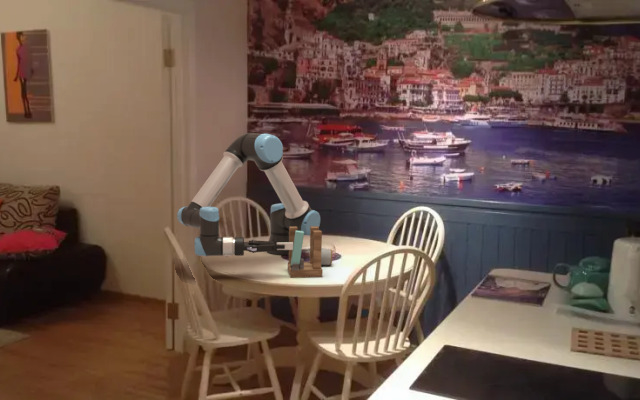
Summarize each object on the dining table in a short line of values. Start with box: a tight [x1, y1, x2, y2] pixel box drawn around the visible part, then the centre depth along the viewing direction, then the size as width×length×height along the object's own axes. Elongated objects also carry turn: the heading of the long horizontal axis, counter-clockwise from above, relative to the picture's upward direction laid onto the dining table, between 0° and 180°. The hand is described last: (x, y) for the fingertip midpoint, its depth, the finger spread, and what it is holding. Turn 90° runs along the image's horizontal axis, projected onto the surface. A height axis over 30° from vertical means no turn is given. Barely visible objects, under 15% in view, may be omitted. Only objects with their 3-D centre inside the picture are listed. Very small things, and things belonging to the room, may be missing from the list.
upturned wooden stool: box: [287, 226, 323, 279], centre depth 256 cm, size 14×13×18 cm
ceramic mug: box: [321, 247, 333, 266], centre depth 272 cm, size 11×8×8 cm
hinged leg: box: [291, 230, 305, 266], centre depth 252 cm, size 3×3×15 cm
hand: (292, 246), depth 251 cm, fingers closed
